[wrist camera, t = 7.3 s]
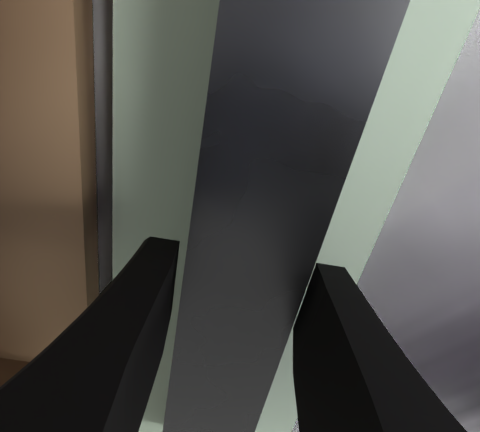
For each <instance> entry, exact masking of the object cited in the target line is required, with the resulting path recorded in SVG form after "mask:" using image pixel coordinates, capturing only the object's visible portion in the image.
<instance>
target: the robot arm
mask: <svg viewBox="0 0 480 432" xmlns="http://www.w3.org/2000/svg"><path fill="white" fill-rule="evenodd" d="M179 244H180V241H176V240H170V239H164V238H158V237H151V236H150V237H148V238H147V239H145V240H144V241H143V243H142V244H141V246H140V247H139V248H138V250H137V251H136V252H135V254H134V255H133V256H132V258H131V259H130V260H129V261H128V263H127V264H126V265H125V266H124V267H123V269H122V270H121V271H120V272H119V273H118V275H117V276H116V277H115V278H114V279H113V280H112V281H111V283H110V284H109V285H108V286H107V287H106V288H105V289H104V290H103V291H102V292H101V293H100V294H99V296H98V297H97V298H96V299H95V300H94V301H93V302H92V303H91V304H90V305H89V306H88V307H87V308H86V309H85V310H84V311H83V312H82V313H81V314H80V315H79V316H78V317H77V318H76V319H75V320H74V321H73V322H72V323H71V324H70V325H69V326H68V327H67V328H66V329H65V330H64V331H63V332H62V333H61V334H60V335H59V336H58V337H57V338H56V339H55V340H54V341H53V342H51V343H50V344H49V345H48V346H47V347H46V348H45V349H44V350H43V351H42V352H40V353H39V354H38V355H37V356H36V357H35V358H34V359H33V360H31V361H30V362H29V363H28V364H27V365H26V366H25V367H23V368H22V369H21V370H20V371H19V372H17V373H16V374H15V375H14V376H13V377H11V378H10V379H9V380H8V381H7V382H5V383H4V384H3V385H2V386H1V387H0V432H139V428H140V425H141V422H142V419H143V416H144V413H145V409H146V406H147V403H148V400H149V397H150V394H151V390H152V387H153V384H154V381H155V378H156V375H157V371H158V368H159V365H160V362H161V358H162V355H163V351H164V346H165V341H166V336H167V332H168V327H169V322H170V317H171V312H172V305H173V296H174V288H175V279H176V270H177V262H178V253H179ZM293 379H294V389H295V398H296V407H297V415H298V424H299V432H467V431H466V430H465V429H464V428H463V427H462V426H461V425H460V423H459V422H458V421H457V420H456V419H455V417H454V416H453V415H452V414H451V413H450V412H449V410H448V409H447V408H446V407H445V406H444V404H443V403H442V402H441V401H440V399H439V398H438V397H437V396H436V394H435V393H434V392H433V391H432V389H431V388H430V387H429V386H428V384H427V383H426V382H425V381H424V379H423V378H422V377H421V376H420V374H419V373H418V372H417V370H416V369H415V368H414V366H413V365H412V364H411V362H410V361H409V360H408V358H407V357H406V356H405V354H404V353H403V352H402V350H401V349H400V347H399V346H398V345H397V343H396V342H395V341H394V339H393V338H392V336H391V335H390V334H389V332H388V331H387V329H386V328H385V326H384V325H383V323H382V322H381V321H380V319H379V318H378V316H377V315H376V313H375V312H374V310H373V309H372V307H371V306H370V304H369V303H368V301H367V300H366V298H365V297H364V295H363V294H362V292H361V291H360V289H359V288H358V286H357V285H356V283H355V282H354V280H353V279H352V277H351V276H350V274H349V273H348V271H347V270H346V268H345V267H340V266H334V265H328V264H321V263H316V265H315V268H314V271H313V274H312V276H311V279H310V282H309V285H308V287H307V290H306V293H305V296H304V299H303V301H302V304H301V307H300V310H299V313H298V315H297V318H296V321H295V324H294V327H293Z"/></svg>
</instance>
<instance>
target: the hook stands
mask: <svg viewBox="0 0 480 432" xmlns="http://www.w3.org/2000/svg"><path fill="white" fill-rule="evenodd" d="M98 296H99V271H98V227H97V182H96V138H95V94H94V49H93V5H92V0H0V387H1V386H2V385H3V384H4V383H5V382H7V381H8V380H9V379H10V378H11V377H13V376H14V375H15V374H16V373H17V372H19V371H20V370H21V369H22V368H23V367H25V366H26V365H27V364H28V363H29V362H30V361H31V360H33V359H34V358H35V357H36V356H37V355H38V354H39V353H40V352H42V351H43V350H44V349H45V348H46V347H47V346H48V345H49V344H50V343H51V342H53V341H54V340H55V339H56V338H57V337H58V336H59V335H60V334H61V333H62V332H63V331H64V330H65V329H66V328H67V327H68V326H69V325H70V324H71V323H72V322H73V321H74V320H75V319H76V318H77V317H78V316H79V315H80V314H81V313H82V312H83V311H84V310H85V309H86V308H87V307H88V306H89V305H90V304H91V303H92V302H93V301H94V300H95V299H96V298H97V297H98Z"/></svg>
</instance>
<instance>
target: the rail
mask: <svg viewBox="0 0 480 432" xmlns="http://www.w3.org/2000/svg"><path fill="white" fill-rule="evenodd" d="M409 3H410V0H220V2H219V9H218V17H217V24H216V32H215V39H214V47H213V55H212V62H211V70H210V77H209V85H208V92H207V100H206V107H205V115H204V123H203V130H202V138H201V145H200V153H199V160H198V168H197V175H196V183H195V190H194V198H193V206H192V213H191V221H190V228H189V236H188V243H187V251H186V258H185V266H184V273H183V281H182V289H181V296H180V304H179V311H178V319H177V326H176V334H175V341H174V349H173V356H172V364H171V372H170V379H169V387H168V394H167V402H166V409H165V417H164V424H163V432H255V430H256V427H257V424H258V421H259V419H260V416H261V413H262V410H263V408H264V405H265V402H266V399H267V396H268V394H269V391H270V388H271V385H272V383H273V380H274V377H275V374H276V371H277V369H278V366H279V363H280V360H281V358H282V355H283V352H284V349H285V347H286V344H287V341H288V338H289V335H290V333H291V330H292V327H293V324H294V322H295V319H296V316H297V313H298V310H299V308H300V305H301V302H302V299H303V297H304V294H305V291H306V288H307V286H308V283H309V280H310V277H311V274H312V272H313V269H314V266H315V263H316V261H317V258H318V255H319V252H320V249H321V247H322V244H323V241H324V238H325V236H326V233H327V230H328V227H329V225H330V222H331V219H332V216H333V213H334V211H335V208H336V205H337V202H338V200H339V197H340V194H341V191H342V188H343V186H344V183H345V180H346V177H347V175H348V172H349V169H350V166H351V164H352V161H353V158H354V155H355V152H356V150H357V147H358V144H359V141H360V139H361V136H362V133H363V130H364V128H365V125H366V122H367V119H368V116H369V114H370V111H371V108H372V105H373V103H374V100H375V97H376V94H377V91H378V89H379V86H380V83H381V80H382V78H383V75H384V72H385V69H386V67H387V64H388V61H389V58H390V55H391V53H392V50H393V47H394V44H395V42H396V39H397V36H398V33H399V30H400V28H401V25H402V22H403V19H404V17H405V14H406V11H407V8H408V6H409Z"/></svg>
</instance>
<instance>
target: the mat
mask: <svg viewBox="0 0 480 432" xmlns="http://www.w3.org/2000/svg"><path fill="white" fill-rule="evenodd" d="M219 2H220V0H113V160H112V280H113V279H114V278H115V277H116V276H117V275H118V273H119V272H120V271H121V270H122V269H123V267H124V266H125V265H126V264H127V263H128V261H129V260H130V259H131V258H132V256H133V255H134V254H135V252H136V251H137V250H138V248H139V247H140V246H141V244H142V243H143V241H144V240H145V239H147V238H148V237H150V236H151V237H158V238H164V239H170V240H176V241H180V244H179V253H178V262H177V270H176V279H175V288H174V296H173V305H172V312H171V317H170V322H169V327H168V332H167V336H166V341H165V346H164V351H163V355H162V358H161V362H160V365H159V368H158V371H157V375H156V378H155V381H154V384H153V387H152V390H151V394H150V397H149V400H148V403H147V406H146V409H145V413H144V416H143V419H142V422H141V425H140V428H139V432H163V424H164V417H165V409H166V402H167V394H168V387H169V379H170V372H171V364H172V356H173V349H174V341H175V334H176V326H177V319H178V311H179V304H180V296H181V289H182V281H183V273H184V266H185V258H186V251H187V243H188V236H189V228H190V221H191V213H192V206H193V198H194V190H195V183H196V175H197V168H198V160H199V153H200V145H201V138H202V130H203V123H204V115H205V107H206V100H207V92H208V85H209V77H210V70H211V62H212V55H213V47H214V39H215V32H216V24H217V17H218V9H219ZM479 9H480V0H410V3H409V6H408V8H407V11H406V14H405V17H404V19H403V22H402V25H401V28H400V30H399V33H398V36H397V39H396V42H395V44H394V47H393V50H392V53H391V55H390V58H389V61H388V64H387V67H386V69H385V72H384V75H383V78H382V80H381V83H380V86H379V89H378V91H377V94H376V97H375V100H374V103H373V105H372V108H371V111H370V114H369V116H368V119H367V122H366V125H365V128H364V130H363V133H362V136H361V139H360V141H359V144H358V147H357V150H356V152H355V155H354V158H353V161H352V164H351V166H350V169H349V172H348V175H347V177H346V180H345V183H344V186H343V188H342V191H341V194H340V197H339V200H338V202H337V205H336V208H335V211H334V213H333V216H332V219H331V222H330V225H329V227H328V230H327V233H326V236H325V238H324V241H323V244H322V247H321V249H320V252H319V255H318V258H317V261H316V263H321V264H328V265H334V266H340V267H345V268H346V270H347V271H348V273H349V274H350V276H351V277H352V279H353V280H354V282H355V283H356V285H357V283H358V281H359V279H360V276H361V274H362V272H363V270H364V267H365V265H366V263H367V261H368V258H369V256H370V254H371V252H372V249H373V247H374V245H375V243H376V241H377V238H378V236H379V234H380V232H381V229H382V227H383V225H384V223H385V220H386V218H387V216H388V214H389V211H390V209H391V207H392V205H393V202H394V200H395V198H396V196H397V193H398V191H399V189H400V187H401V184H402V182H403V180H404V178H405V175H406V173H407V171H408V169H409V166H410V164H411V162H412V160H413V157H414V155H415V153H416V151H417V148H418V146H419V144H420V142H421V139H422V137H423V135H424V133H425V130H426V128H427V126H428V124H429V121H430V119H431V117H432V115H433V113H434V110H435V108H436V106H437V104H438V101H439V99H440V97H441V95H442V92H443V90H444V88H445V86H446V83H447V81H448V79H449V77H450V74H451V72H452V70H453V68H454V65H455V63H456V61H457V59H458V56H459V54H460V52H461V50H462V47H463V45H464V43H465V41H466V38H467V36H468V34H469V32H470V29H471V27H472V25H473V23H474V20H475V18H476V16H477V14H478V11H479ZM316 263H315V265H316ZM314 268H315V266H314ZM313 271H314V269H313ZM312 274H313V272H312ZM312 274H311V276H312ZM310 279H311V277H310ZM309 282H310V280H309ZM308 285H309V283H308ZM307 287H308V286H307ZM306 290H307V288H306ZM305 293H306V291H305ZM304 296H305V294H304ZM303 299H304V297H303ZM303 299H302V301H303ZM301 304H302V302H301ZM300 307H301V305H300ZM299 310H300V308H299ZM299 310H298V313H299ZM298 313H297V315H298ZM296 318H297V316H296ZM295 321H296V319H295ZM294 324H295V322H294ZM294 324H293V327H294ZM293 327H292V330H291V333H290V335H289V338H288V341H287V344H286V347H285V349H284V352H283V355H282V358H281V360H280V363H279V366H278V369H277V371H276V374H275V377H274V380H273V383H272V385H271V388H270V391H269V394H268V396H267V399H266V402H265V405H264V408H263V410H262V413H261V416H260V419H259V421H258V424H257V427H256V430H255V432H291V431H292V429H293V427H294V425H295V422H296V420H297V418H298V415H297V407H296V398H295V389H294V379H293Z"/></svg>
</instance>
